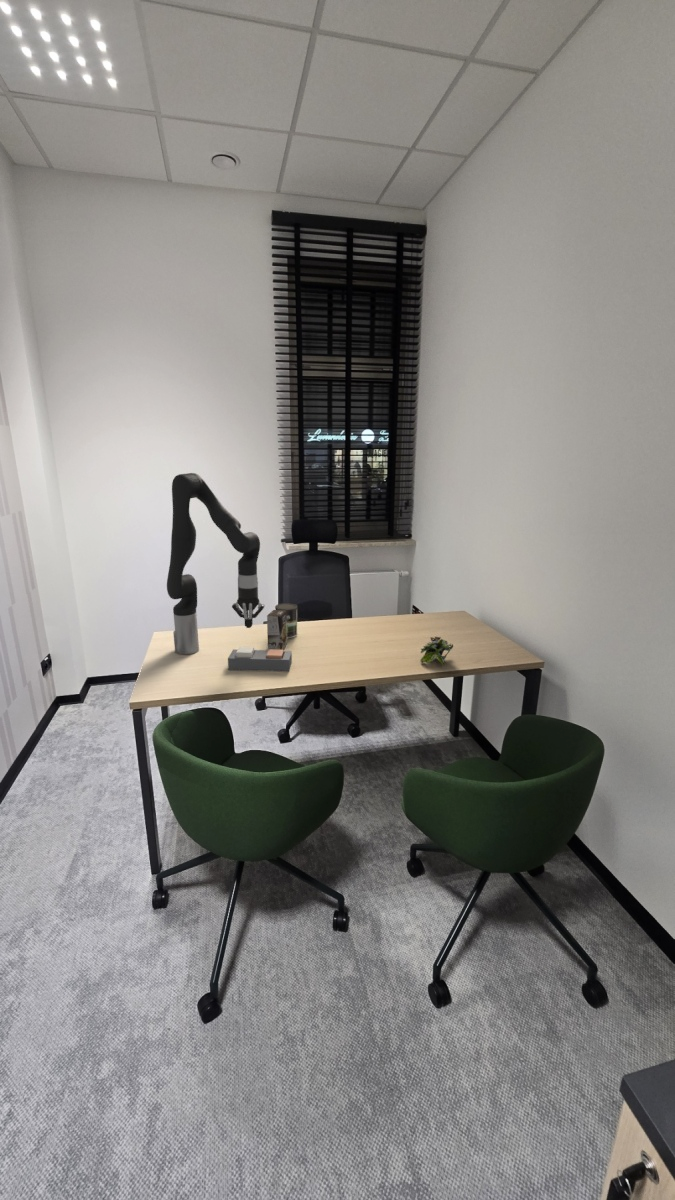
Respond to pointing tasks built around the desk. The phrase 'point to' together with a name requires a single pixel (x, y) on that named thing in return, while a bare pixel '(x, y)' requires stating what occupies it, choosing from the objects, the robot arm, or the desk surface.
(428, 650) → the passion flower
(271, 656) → the terracotta key
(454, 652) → the desk surface
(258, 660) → the key console
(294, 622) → the coffee can
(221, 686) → the desk surface
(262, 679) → the desk surface
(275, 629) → the coffee box
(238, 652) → the offwhite key
